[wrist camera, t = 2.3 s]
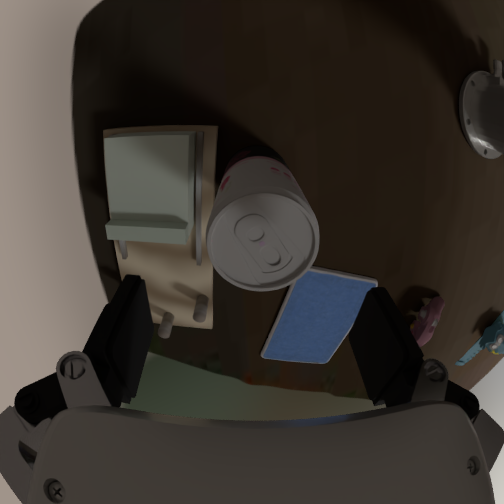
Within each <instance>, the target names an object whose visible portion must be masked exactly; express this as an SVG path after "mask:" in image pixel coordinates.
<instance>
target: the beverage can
mask: <svg viewBox="0 0 504 504" xmlns="http://www.w3.org/2000/svg"><path fill="white" fill-rule="evenodd" d="M206 246H207V250H208V255H209V258H210V261H211V263H212V265H213V266H214V268H215V269H216V271H217V272H218V273H219V274H220V275H221V276H222V277H223V278H224V279H226V280H227V281H228V282H230V283H232V284H234V285H236V286H238V287H240V288H243V289H247V290H253V291H271V290H276V289H280V288H283V287H286V286H288V285H290V284H292V283H294V282H295V281H297V280H298V279H300V278H301V277H302V276H303V275H304V274H305V273H306V272H307V271H308V270H309V269H310V267H311V266H312V264H313V262H314V260H315V258H316V256H317V253H318V248H319V227H318V222H317V219H316V217H315V215H314V213H313V211H312V209H311V207H310V205H309V203H308V202H307V200H306V198H305V196H304V194H303V193H302V191H301V189H300V187H299V185H298V184H297V182H296V180H295V178H294V177H293V175H292V173H291V172H290V170H289V168H288V166H287V165H286V163H285V161H284V160H283V158H282V157H281V156H280V155H279V154H278V153H277V152H275V151H274V150H272V149H270V148H267V147H264V146H250V147H246V148H243V149H241V150H240V151H238V152H237V153H235V154H234V155H233V156H232V158H231V159H230V160H229V162H228V164H227V166H226V169H225V172H224V175H223V178H222V181H221V184H220V187H219V190H218V193H217V196H216V199H215V202H214V205H213V208H212V211H211V214H210V217H209V220H208V224H207V228H206Z"/></svg>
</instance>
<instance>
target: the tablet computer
mask: <svg viewBox="0 0 504 504" xmlns="http://www.w3.org/2000/svg"><path fill="white" fill-rule="evenodd" d="M377 286H378V283H377V280H376V279H374V278H370V277H365V276H360V275H355V274H350V273H346V272H341V271H336V270H331V269H325V268H320V267H315V266H311V267H310V269H309V270H308V271H307V272H306V273H305V274H304V275H303V276H302V277H301V278H300V279H298V280H297V281H295V282H294V283H292V284H291V285H290V287H289V290H288V292H287V295H286V297H285V299H284V302H283V304H282V306H281V309H280V311H279V313H278V316H277V318H276V320H275V323H274V325H273V327H272V330H271V332H270V334H269V336H268V338H267V340H266V343H265V345H264V347H263V349H262V351H261V356H262V357H263V358H266V359H275V360H284V361H295V362H306V363H320V364H324V363H326V362H328V361H329V360H330V358H331V357H332V355H333V354H334V353H335V351H336V350H337V348H338V347H339V345H340V344H341V342H342V341H343V340H344V338H345V337H346V335H347V334H348V332H349V331H350V329H351V328H352V326H353V324H354V321H355V319H356V317H357V315H358V312H359V310H360V308H361V305H362V303H363V300H364V298H365V296H366V293H367V291H369V290H370V289H371V288H372V287H377Z"/></svg>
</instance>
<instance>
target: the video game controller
mask: <svg viewBox="0 0 504 504" xmlns="http://www.w3.org/2000/svg"><path fill="white" fill-rule="evenodd" d="M444 304H445V303H444V300H443V299H442V298H441V297H434V298H433V299H432V300H431V301H430V302H429V304H428V305H427V306H426V307H424V306H422V307H421V309H420V311H419V314H418V319H420V320H421V324H420V322H419V321H416V320H414V321H413V322H412V324H411V325H410V330H411V332H412V334H413V336H414V338H415V340H416V341H417V343H418V345H419V347H421V346H423V345H424V344H425V343H427V342H428V341H429V340H430V339H431V337H432V335H433V331H434V329H435V327H436V325H437V324H438V321H439V318H440V315H441V311H442V309H443V307H444Z"/></svg>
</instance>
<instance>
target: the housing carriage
mask: <svg viewBox="0 0 504 504" xmlns="http://www.w3.org/2000/svg"><path fill="white" fill-rule="evenodd" d="M195 142H196V131H162V132H136V133H121V134H116V135H113V136H110V137H107V138H104V150H105V167H106V179H107V190H108V199H109V207H110V215H111V220H110V221H109V222H108V223H107V224H106V225H105V226H106V232H107V238H108V239H110V240H125V241H139V242H154V243H169V244H183V245H186V243H187V240H188V238H189V235H190V233H191V230H192V228H193V225H194V175H195Z"/></svg>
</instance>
